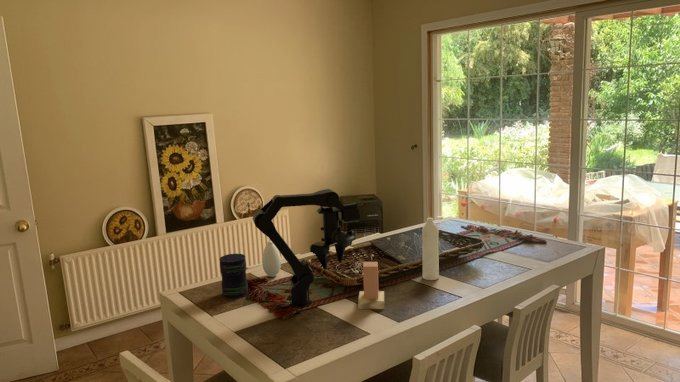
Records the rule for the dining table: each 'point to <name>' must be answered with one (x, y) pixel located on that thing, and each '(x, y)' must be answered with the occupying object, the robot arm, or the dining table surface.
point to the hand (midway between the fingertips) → (332, 265)
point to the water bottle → (430, 249)
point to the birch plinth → (371, 301)
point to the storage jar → (233, 276)
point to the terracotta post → (370, 280)
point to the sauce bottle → (271, 259)
